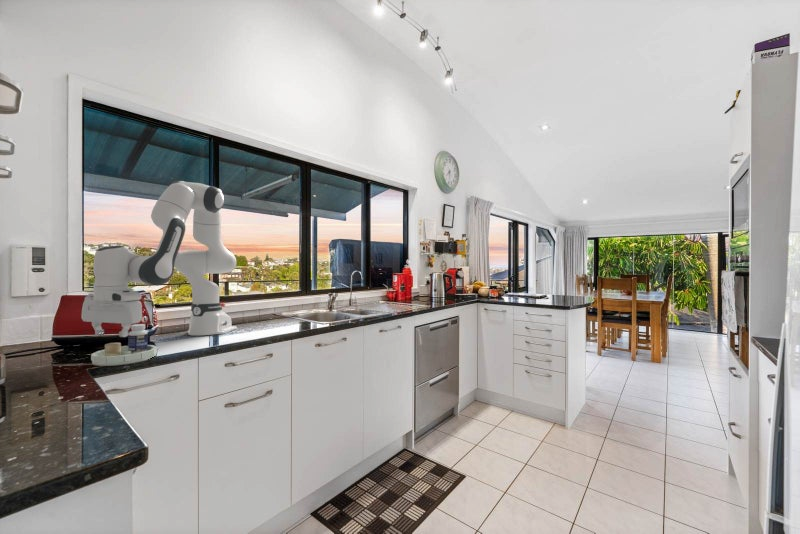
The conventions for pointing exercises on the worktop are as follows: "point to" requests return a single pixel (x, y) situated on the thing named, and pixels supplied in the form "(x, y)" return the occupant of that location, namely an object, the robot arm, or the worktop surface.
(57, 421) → the worktop surface
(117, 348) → the beech bead
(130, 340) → the pill bottle
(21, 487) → the worktop surface
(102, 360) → the dish
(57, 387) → the worktop surface
